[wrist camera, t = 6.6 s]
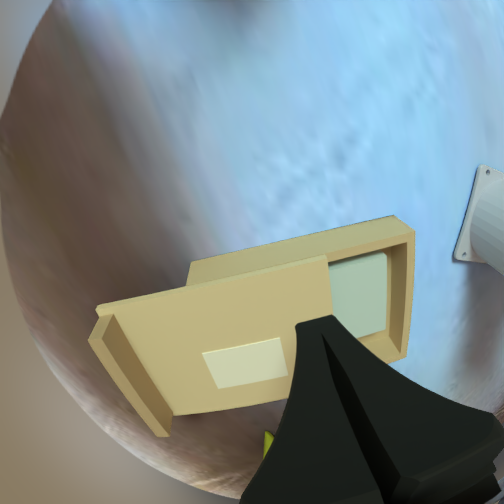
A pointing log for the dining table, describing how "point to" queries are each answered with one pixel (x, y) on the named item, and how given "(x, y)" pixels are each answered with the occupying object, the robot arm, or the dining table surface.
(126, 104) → the dining table surface
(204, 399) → the lid
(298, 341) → the robot arm
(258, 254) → the mailer box
